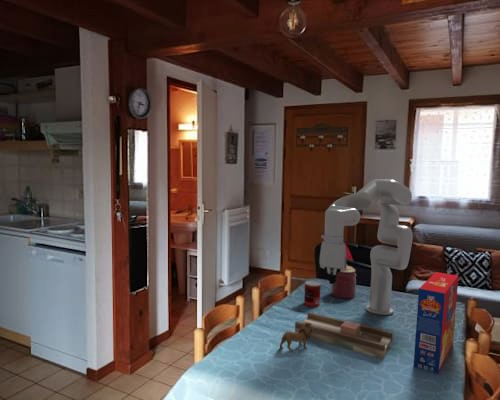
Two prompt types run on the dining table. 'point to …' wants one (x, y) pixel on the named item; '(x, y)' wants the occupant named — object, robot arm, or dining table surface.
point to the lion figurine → (297, 336)
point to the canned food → (312, 293)
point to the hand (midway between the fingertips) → (332, 283)
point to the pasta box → (435, 321)
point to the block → (350, 328)
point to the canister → (345, 284)
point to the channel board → (329, 332)
